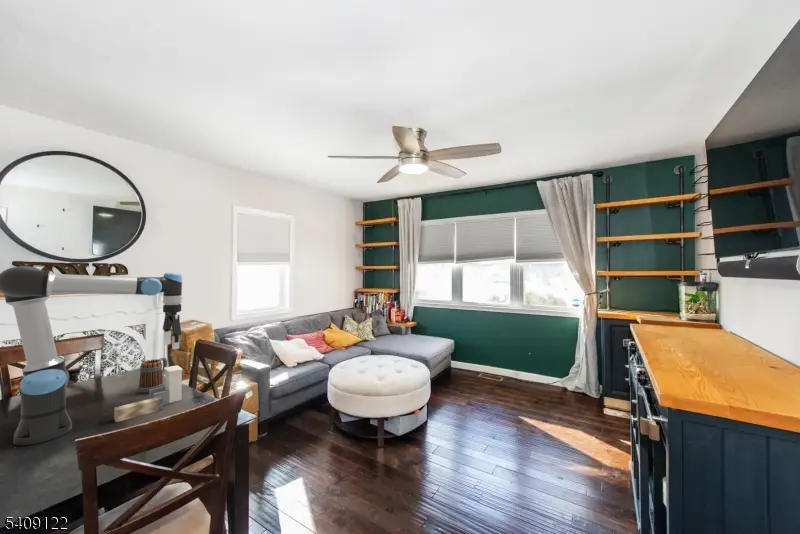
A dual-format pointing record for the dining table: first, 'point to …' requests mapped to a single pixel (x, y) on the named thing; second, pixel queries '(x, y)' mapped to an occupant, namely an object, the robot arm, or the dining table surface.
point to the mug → (151, 375)
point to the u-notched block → (169, 386)
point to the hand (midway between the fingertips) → (171, 346)
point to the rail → (138, 409)
